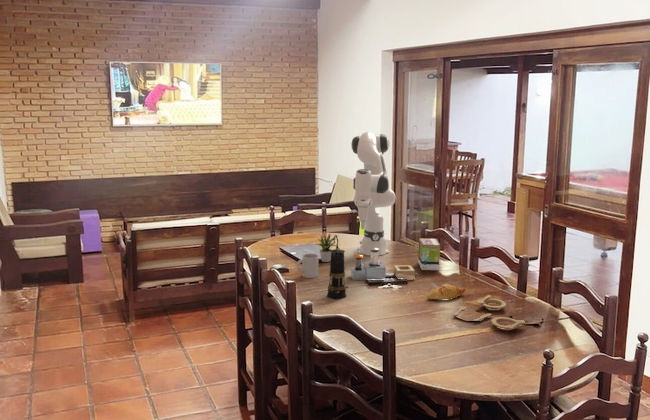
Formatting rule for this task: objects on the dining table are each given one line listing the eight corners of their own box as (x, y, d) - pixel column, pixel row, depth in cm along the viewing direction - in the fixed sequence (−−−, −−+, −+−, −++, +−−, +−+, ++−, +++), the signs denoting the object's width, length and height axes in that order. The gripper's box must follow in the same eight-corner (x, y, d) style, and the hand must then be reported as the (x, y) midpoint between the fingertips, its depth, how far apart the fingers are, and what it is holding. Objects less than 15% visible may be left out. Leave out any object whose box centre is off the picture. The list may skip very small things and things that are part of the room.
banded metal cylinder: (369, 272, 324) (370, 247, 321) (377, 272, 324) (378, 247, 321) (371, 275, 320) (371, 249, 317) (378, 275, 320) (379, 249, 317)
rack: (393, 274, 328) (393, 265, 327) (410, 273, 329) (410, 265, 328) (397, 280, 319) (397, 270, 318) (414, 279, 320) (414, 270, 318)
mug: (314, 272, 330) (314, 252, 328) (321, 276, 323) (321, 256, 321) (293, 275, 325) (293, 255, 323) (300, 279, 318) (300, 259, 316)
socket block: (363, 274, 327) (363, 262, 325) (381, 274, 328) (382, 262, 326) (366, 280, 317) (366, 267, 316) (385, 280, 318) (385, 267, 317)
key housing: (350, 276, 325) (350, 267, 324) (363, 275, 325) (363, 266, 324) (352, 280, 318) (352, 270, 317) (365, 279, 319) (366, 270, 318)
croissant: (429, 309, 288) (434, 297, 283) (419, 293, 295) (424, 282, 290) (466, 302, 296) (472, 290, 291) (456, 287, 303) (461, 275, 298)
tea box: (439, 270, 336) (440, 244, 333) (421, 270, 336) (422, 244, 333) (435, 262, 350) (436, 237, 348) (417, 262, 351) (418, 237, 348)
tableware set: (445, 316, 270) (445, 307, 269) (481, 300, 290) (481, 292, 289) (518, 340, 246) (519, 330, 245) (551, 321, 266) (552, 312, 265)
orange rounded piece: (352, 270, 323) (353, 253, 321) (362, 270, 324) (362, 253, 322) (354, 273, 318) (354, 256, 316) (363, 272, 319) (364, 256, 317)
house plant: (338, 265, 344) (339, 236, 341) (314, 264, 345) (314, 236, 341) (338, 258, 358) (339, 230, 355) (315, 257, 359) (315, 230, 355)
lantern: (349, 294, 296) (350, 234, 290) (340, 300, 288) (341, 238, 282) (333, 291, 300) (333, 232, 294) (323, 297, 292) (324, 236, 286)
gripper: (357, 197, 327) (357, 223, 329) (356, 203, 307) (356, 230, 309) (369, 198, 327) (369, 223, 329) (369, 203, 307) (369, 230, 309)
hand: (363, 227), depth 319 cm, fingers open, 8 cm apart
